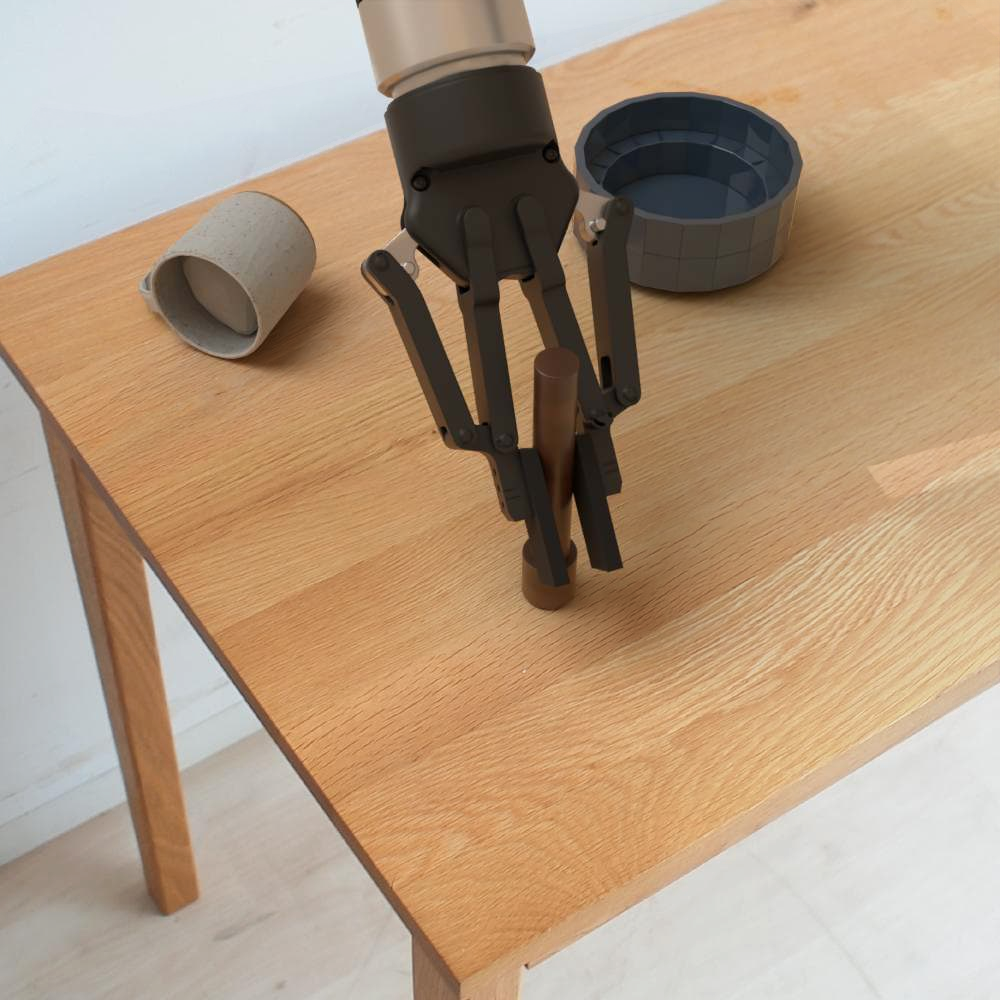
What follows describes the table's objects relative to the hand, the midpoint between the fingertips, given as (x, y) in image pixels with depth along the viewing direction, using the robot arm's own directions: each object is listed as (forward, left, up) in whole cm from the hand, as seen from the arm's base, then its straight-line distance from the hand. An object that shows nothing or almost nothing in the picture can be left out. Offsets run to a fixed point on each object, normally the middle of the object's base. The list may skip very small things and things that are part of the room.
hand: (581, 574), depth 69 cm
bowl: (-19, -29, -6) cm, 35 cm away
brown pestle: (0, -4, -6) cm, 7 cm away
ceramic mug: (+11, -31, -6) cm, 33 cm away
